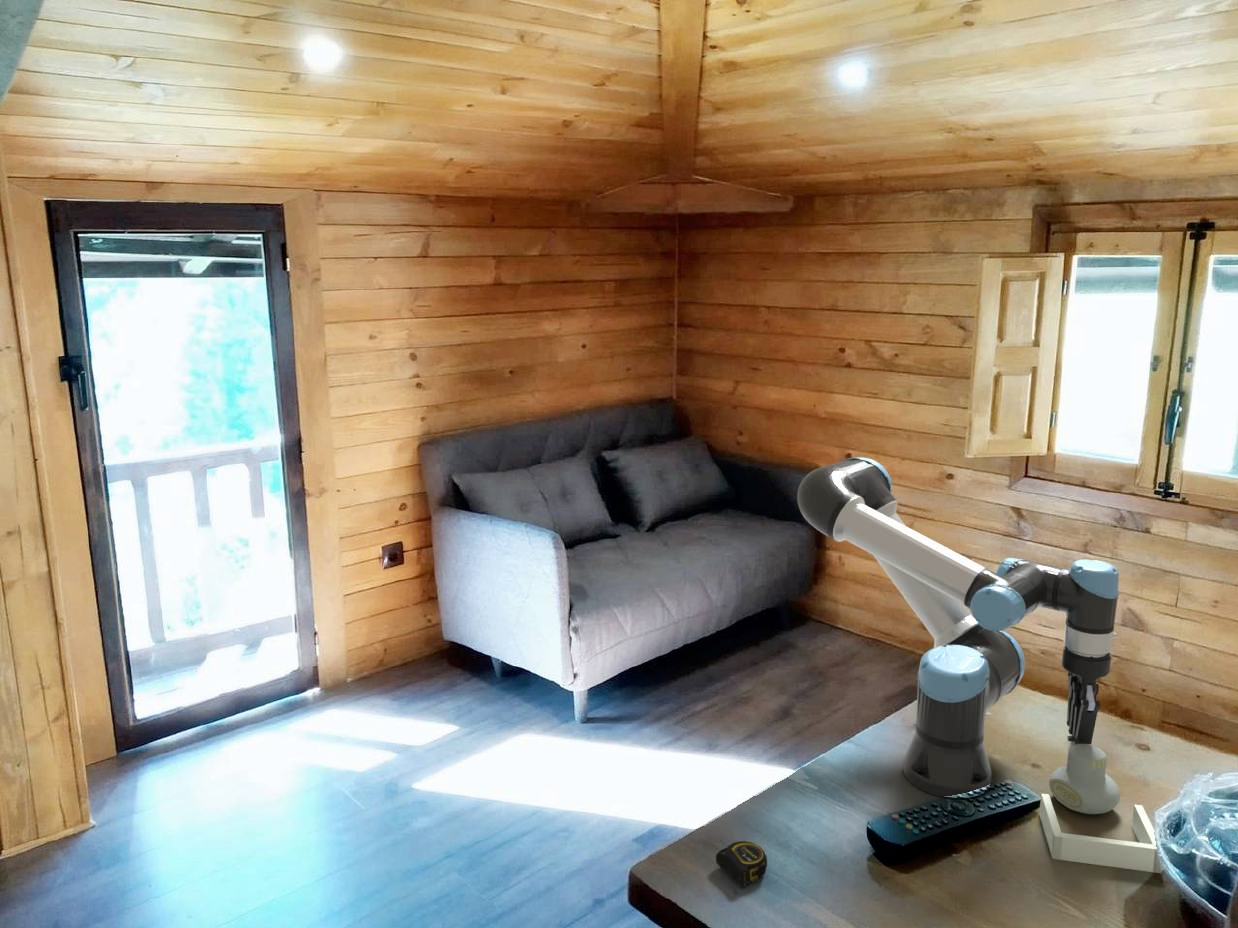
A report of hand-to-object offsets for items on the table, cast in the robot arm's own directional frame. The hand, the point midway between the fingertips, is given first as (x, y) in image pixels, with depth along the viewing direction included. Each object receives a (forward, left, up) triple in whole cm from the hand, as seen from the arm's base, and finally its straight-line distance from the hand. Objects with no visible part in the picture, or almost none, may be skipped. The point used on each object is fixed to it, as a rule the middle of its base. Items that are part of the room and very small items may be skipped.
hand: (1074, 771), depth 168 cm
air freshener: (0, -7, -2) cm, 7 cm away
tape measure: (-55, -39, -3) cm, 67 cm away
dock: (0, -18, -2) cm, 18 cm away
